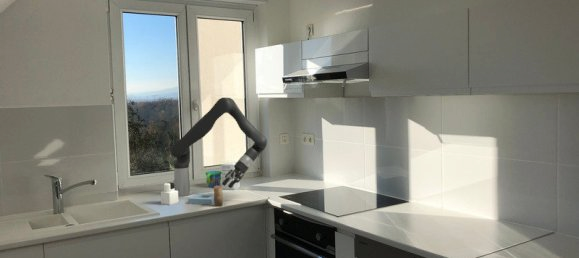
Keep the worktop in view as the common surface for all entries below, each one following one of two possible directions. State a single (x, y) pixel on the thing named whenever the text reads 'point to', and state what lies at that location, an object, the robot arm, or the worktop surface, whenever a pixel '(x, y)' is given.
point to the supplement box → (225, 169)
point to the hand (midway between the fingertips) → (226, 186)
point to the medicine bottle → (169, 194)
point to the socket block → (202, 199)
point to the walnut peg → (218, 196)
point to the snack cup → (213, 178)
